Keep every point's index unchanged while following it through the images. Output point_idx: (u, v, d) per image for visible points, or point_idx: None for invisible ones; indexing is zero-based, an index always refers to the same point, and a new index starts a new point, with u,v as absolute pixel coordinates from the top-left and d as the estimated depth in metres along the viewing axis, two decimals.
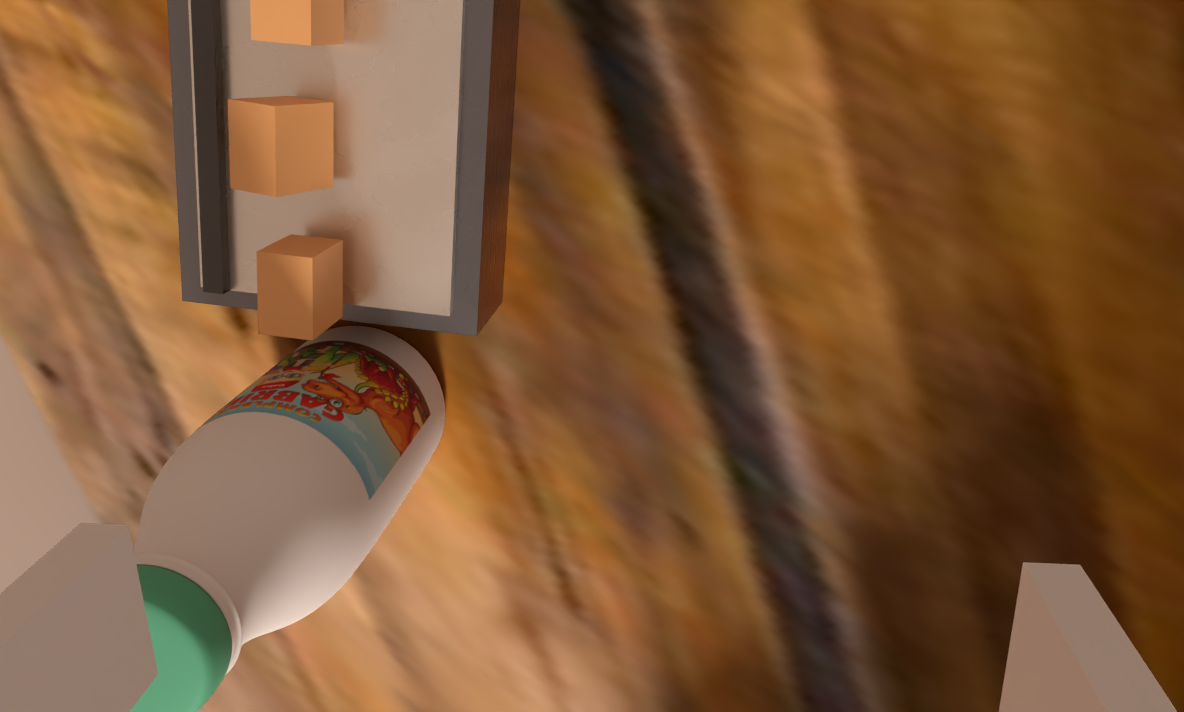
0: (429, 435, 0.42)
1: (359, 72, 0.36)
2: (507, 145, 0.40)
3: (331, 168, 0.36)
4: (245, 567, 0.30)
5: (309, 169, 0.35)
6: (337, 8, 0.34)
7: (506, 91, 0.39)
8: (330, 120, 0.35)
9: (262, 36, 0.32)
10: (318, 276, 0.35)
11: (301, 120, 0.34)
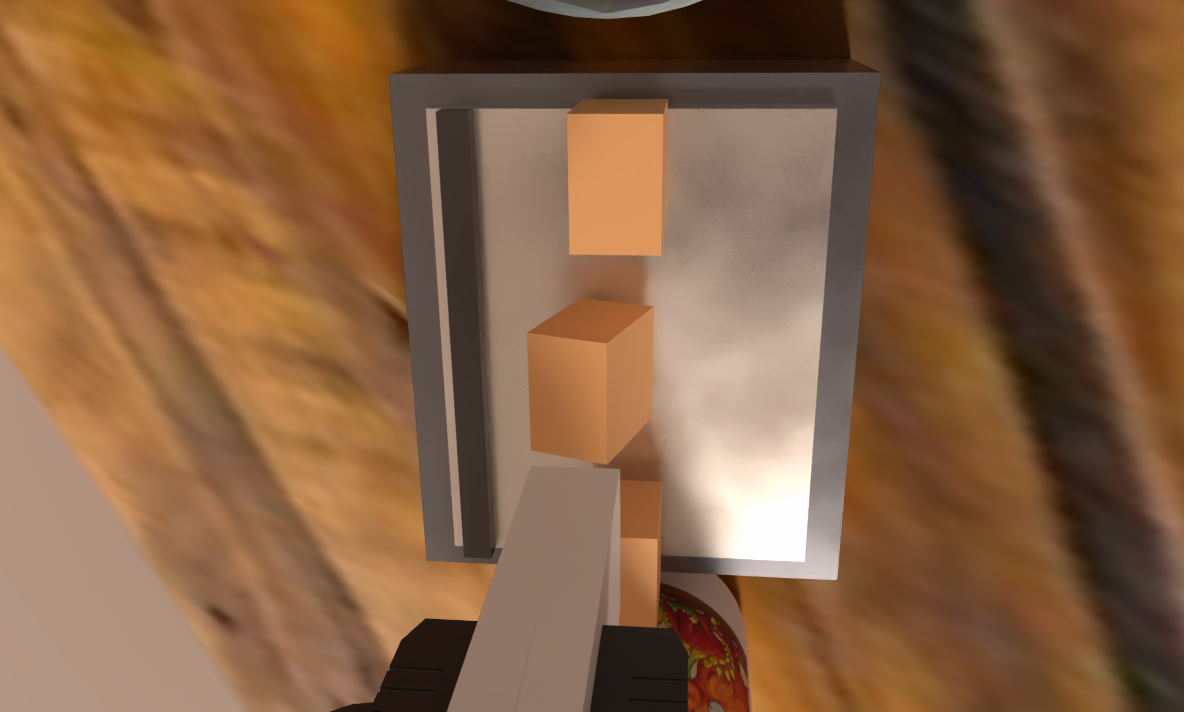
0: None
1: (679, 256, 0.25)
2: None
3: (651, 394, 0.25)
4: None
5: (633, 408, 0.24)
6: (665, 182, 0.23)
7: None
8: (650, 332, 0.25)
9: (586, 248, 0.22)
10: None
11: (628, 348, 0.23)
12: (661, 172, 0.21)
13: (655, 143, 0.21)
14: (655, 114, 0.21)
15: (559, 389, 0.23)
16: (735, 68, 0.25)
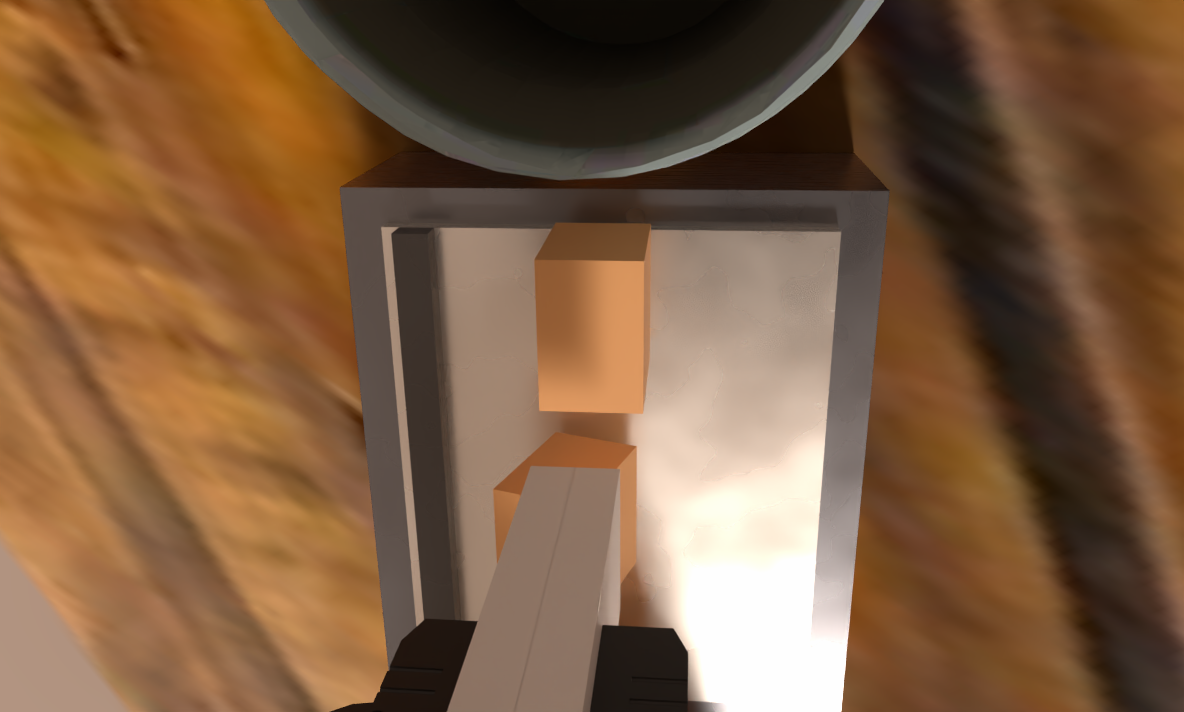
0: None
1: (665, 387, 0.23)
2: None
3: (634, 538, 0.23)
4: None
5: None
6: (649, 317, 0.21)
7: None
8: (633, 474, 0.22)
9: (558, 404, 0.19)
10: None
11: None
12: (642, 324, 0.18)
13: (636, 292, 0.18)
14: (635, 261, 0.18)
15: None
16: (727, 177, 0.23)
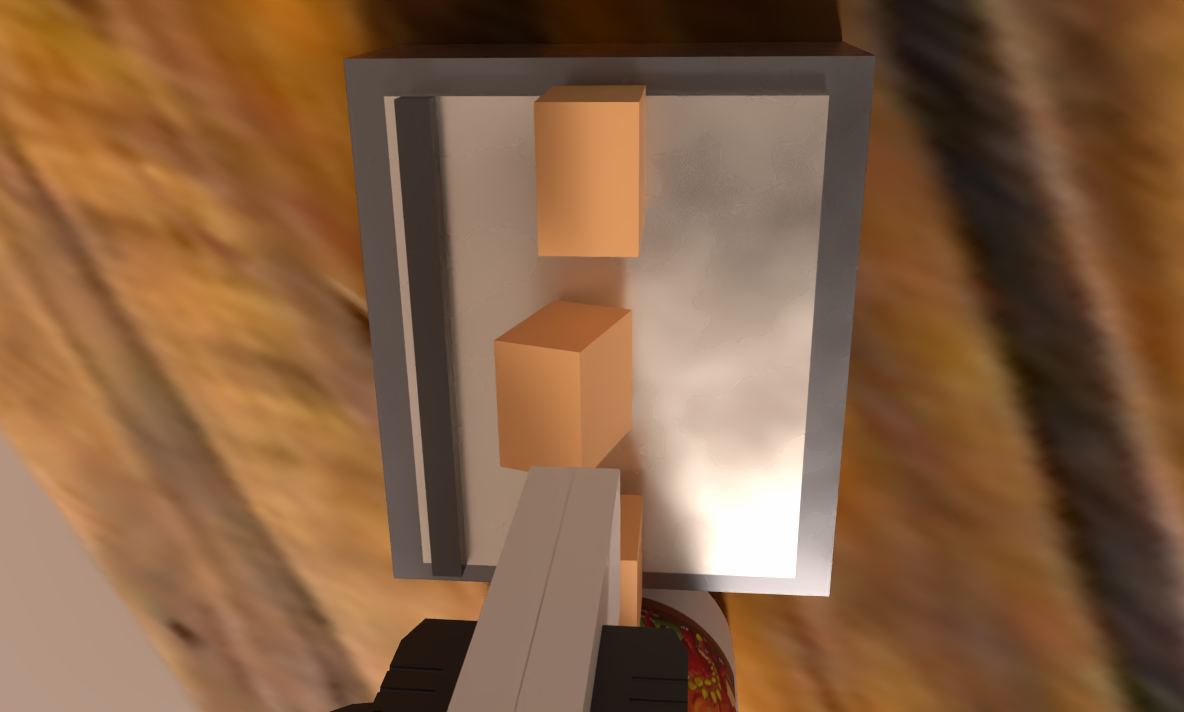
0: None
1: (659, 255, 0.23)
2: None
3: (630, 403, 0.24)
4: None
5: (610, 420, 0.23)
6: (643, 176, 0.22)
7: None
8: (629, 337, 0.23)
9: (557, 249, 0.20)
10: None
11: (604, 356, 0.22)
12: (637, 166, 0.19)
13: (631, 134, 0.19)
14: (630, 102, 0.19)
15: (529, 401, 0.21)
16: (719, 51, 0.23)
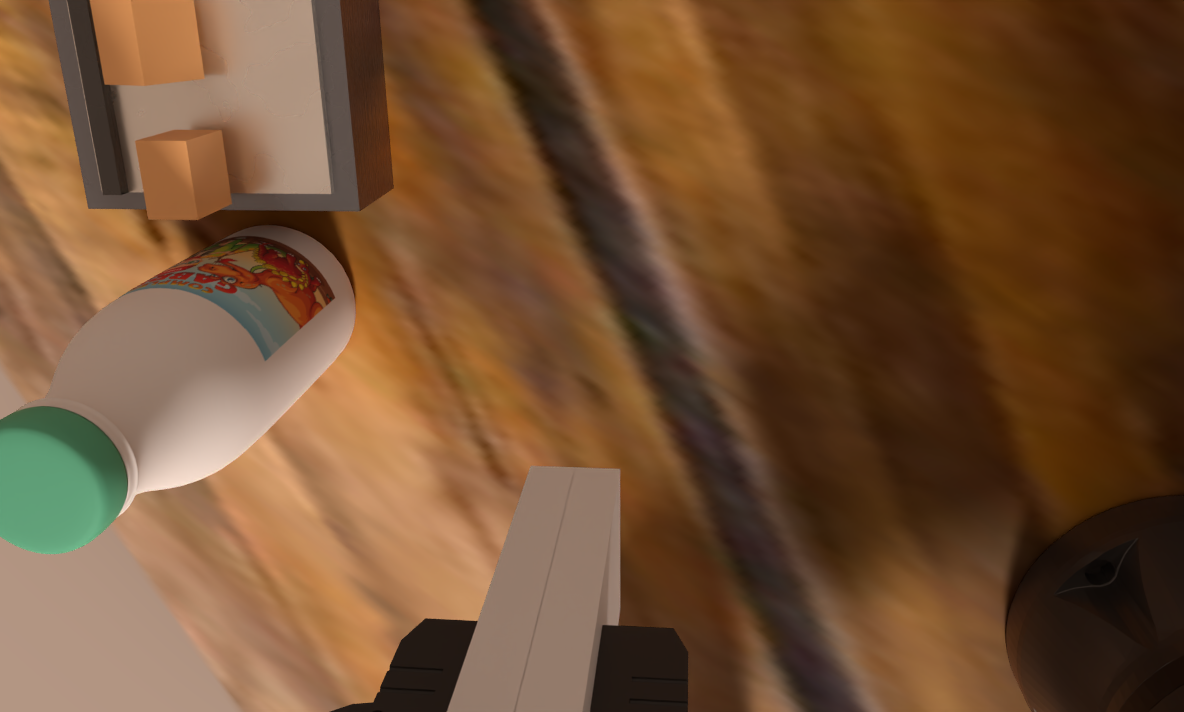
0: (335, 316, 0.45)
1: None
2: (374, 34, 0.43)
3: (200, 61, 0.39)
4: (138, 410, 0.33)
5: (175, 60, 0.38)
6: None
7: None
8: (192, 14, 0.38)
9: None
10: (196, 159, 0.38)
11: (161, 13, 0.37)
12: None
13: None
14: None
15: (112, 36, 0.36)
16: None
